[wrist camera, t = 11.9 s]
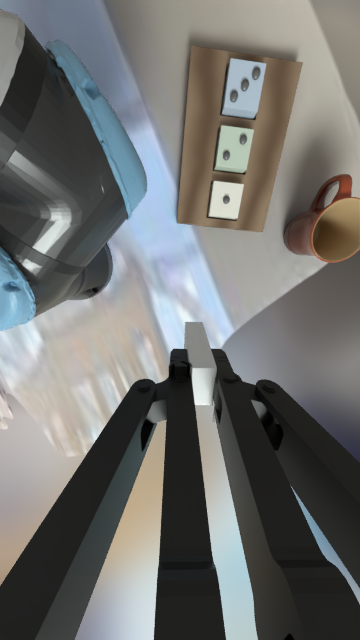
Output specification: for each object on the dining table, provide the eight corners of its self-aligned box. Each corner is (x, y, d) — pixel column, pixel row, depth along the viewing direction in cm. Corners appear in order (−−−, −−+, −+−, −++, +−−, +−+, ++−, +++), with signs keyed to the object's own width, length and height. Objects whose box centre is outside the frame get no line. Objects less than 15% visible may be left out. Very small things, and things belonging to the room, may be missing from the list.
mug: (318, 256, 39) (363, 260, 30) (275, 259, 39) (306, 264, 30) (331, 186, 35) (389, 165, 25) (282, 190, 35) (322, 171, 25)
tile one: (206, 217, 36) (209, 214, 33) (210, 186, 34) (214, 180, 31) (232, 220, 36) (238, 218, 33) (238, 189, 35) (244, 183, 31)
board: (177, 223, 37) (176, 222, 35) (190, 58, 28) (191, 45, 27) (258, 232, 37) (262, 231, 36) (294, 74, 29) (302, 62, 27)
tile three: (219, 120, 31) (224, 105, 28) (225, 76, 29) (231, 56, 26) (249, 124, 31) (258, 110, 28) (257, 81, 29) (267, 61, 26)
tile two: (212, 172, 34) (216, 165, 30) (217, 136, 32) (221, 124, 28) (240, 176, 34) (247, 169, 31) (246, 140, 32) (254, 128, 29)
